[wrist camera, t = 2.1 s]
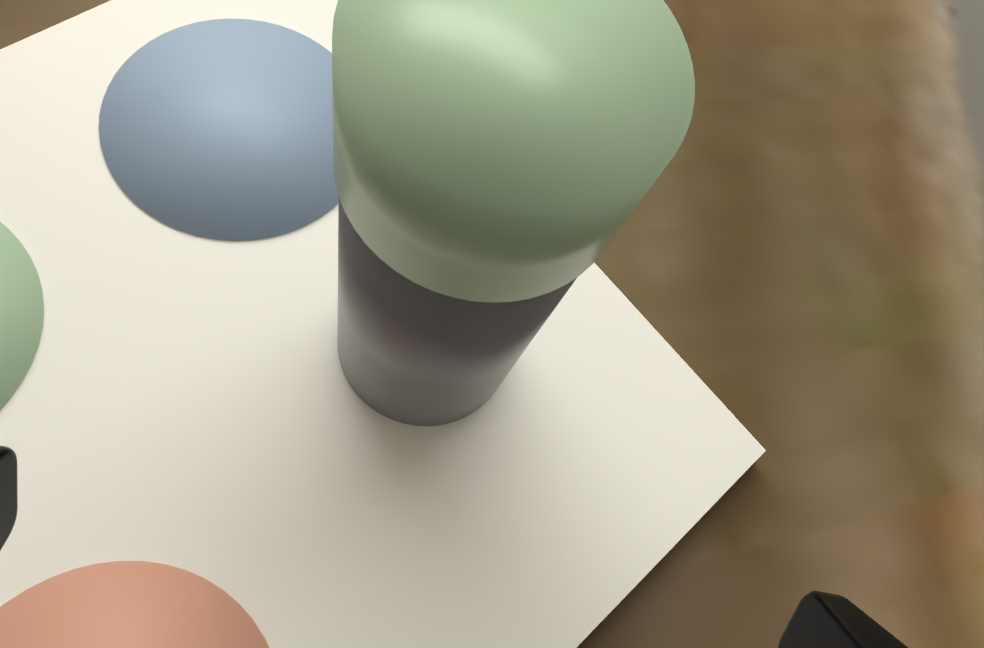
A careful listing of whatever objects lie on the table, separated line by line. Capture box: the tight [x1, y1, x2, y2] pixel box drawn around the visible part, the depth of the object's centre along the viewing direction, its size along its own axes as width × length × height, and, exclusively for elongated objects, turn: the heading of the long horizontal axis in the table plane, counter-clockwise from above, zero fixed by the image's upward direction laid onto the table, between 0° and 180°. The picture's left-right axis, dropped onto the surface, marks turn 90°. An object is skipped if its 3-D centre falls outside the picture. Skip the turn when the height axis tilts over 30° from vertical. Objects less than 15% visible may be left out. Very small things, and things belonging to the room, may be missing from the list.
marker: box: [332, 0, 695, 426], centre depth 16 cm, size 5×5×12 cm
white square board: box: [0, 0, 766, 648], centre depth 21 cm, size 24×24×1 cm
